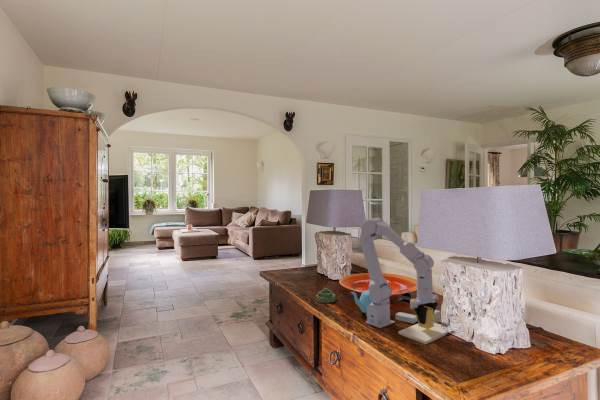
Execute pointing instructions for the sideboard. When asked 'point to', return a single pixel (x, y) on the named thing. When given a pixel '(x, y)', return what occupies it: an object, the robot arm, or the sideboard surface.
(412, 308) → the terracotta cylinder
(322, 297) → the decorative artifact
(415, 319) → the blue-grey slab
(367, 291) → the teapot
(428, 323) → the mustard block
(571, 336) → the sideboard surface
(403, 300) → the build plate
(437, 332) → the cream board
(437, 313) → the grey cube
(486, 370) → the sideboard surface
